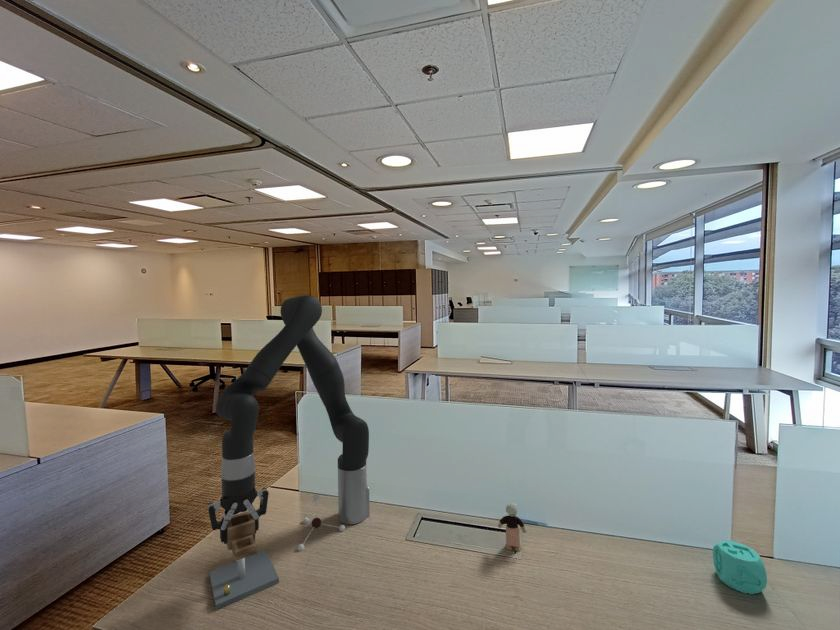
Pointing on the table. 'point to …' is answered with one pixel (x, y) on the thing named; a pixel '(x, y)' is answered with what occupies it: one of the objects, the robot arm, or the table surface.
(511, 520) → the grandmother figurine
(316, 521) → the molecular model
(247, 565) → the slate board
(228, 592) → the brass dowel
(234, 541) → the brown hollow open box
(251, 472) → the robot arm
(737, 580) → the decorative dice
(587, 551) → the table surface
